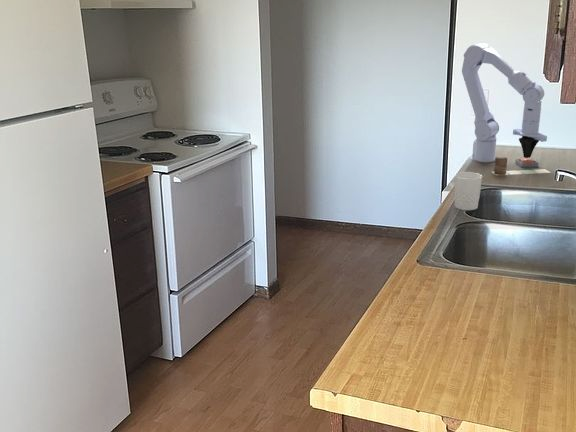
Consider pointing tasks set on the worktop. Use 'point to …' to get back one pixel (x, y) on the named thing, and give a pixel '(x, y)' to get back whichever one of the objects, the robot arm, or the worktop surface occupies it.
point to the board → (525, 172)
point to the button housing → (518, 162)
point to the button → (527, 160)
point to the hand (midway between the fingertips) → (527, 157)
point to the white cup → (467, 190)
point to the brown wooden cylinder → (500, 165)
